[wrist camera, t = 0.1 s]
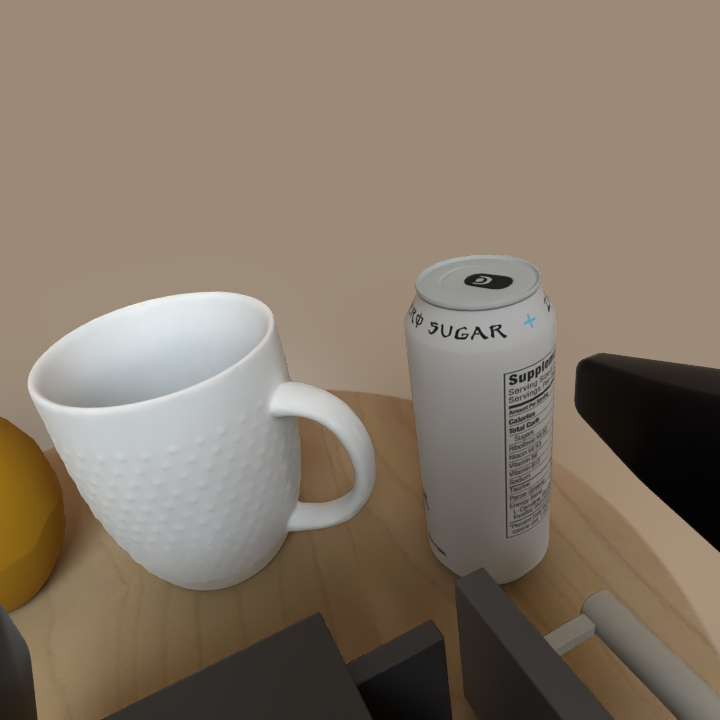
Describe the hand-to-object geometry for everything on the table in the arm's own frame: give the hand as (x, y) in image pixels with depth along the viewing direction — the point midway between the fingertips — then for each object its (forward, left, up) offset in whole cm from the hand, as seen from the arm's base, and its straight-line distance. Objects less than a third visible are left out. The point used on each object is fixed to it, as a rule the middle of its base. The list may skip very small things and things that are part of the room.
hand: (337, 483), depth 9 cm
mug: (+19, +1, -19) cm, 27 cm away
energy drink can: (+12, -10, -19) cm, 24 cm away
